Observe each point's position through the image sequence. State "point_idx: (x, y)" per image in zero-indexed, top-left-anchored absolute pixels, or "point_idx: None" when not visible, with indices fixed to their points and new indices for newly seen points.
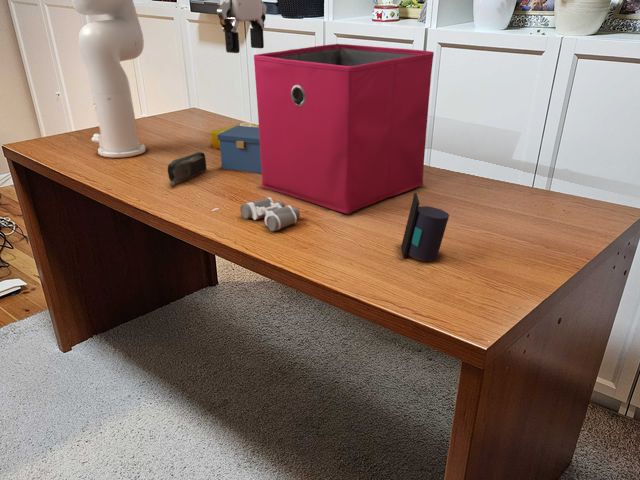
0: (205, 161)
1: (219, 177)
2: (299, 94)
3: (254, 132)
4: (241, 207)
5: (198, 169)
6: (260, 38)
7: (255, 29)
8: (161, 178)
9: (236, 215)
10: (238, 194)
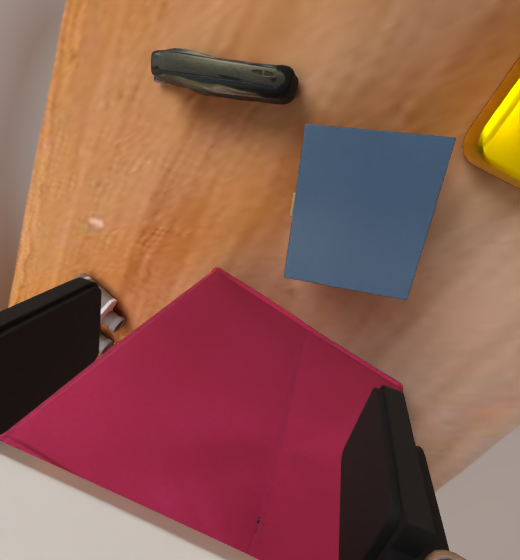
0: (281, 101)
1: (252, 158)
2: (271, 444)
3: (356, 232)
4: (77, 277)
5: (247, 99)
6: (344, 507)
7: (362, 556)
8: (206, 10)
9: (90, 262)
10: (170, 236)
